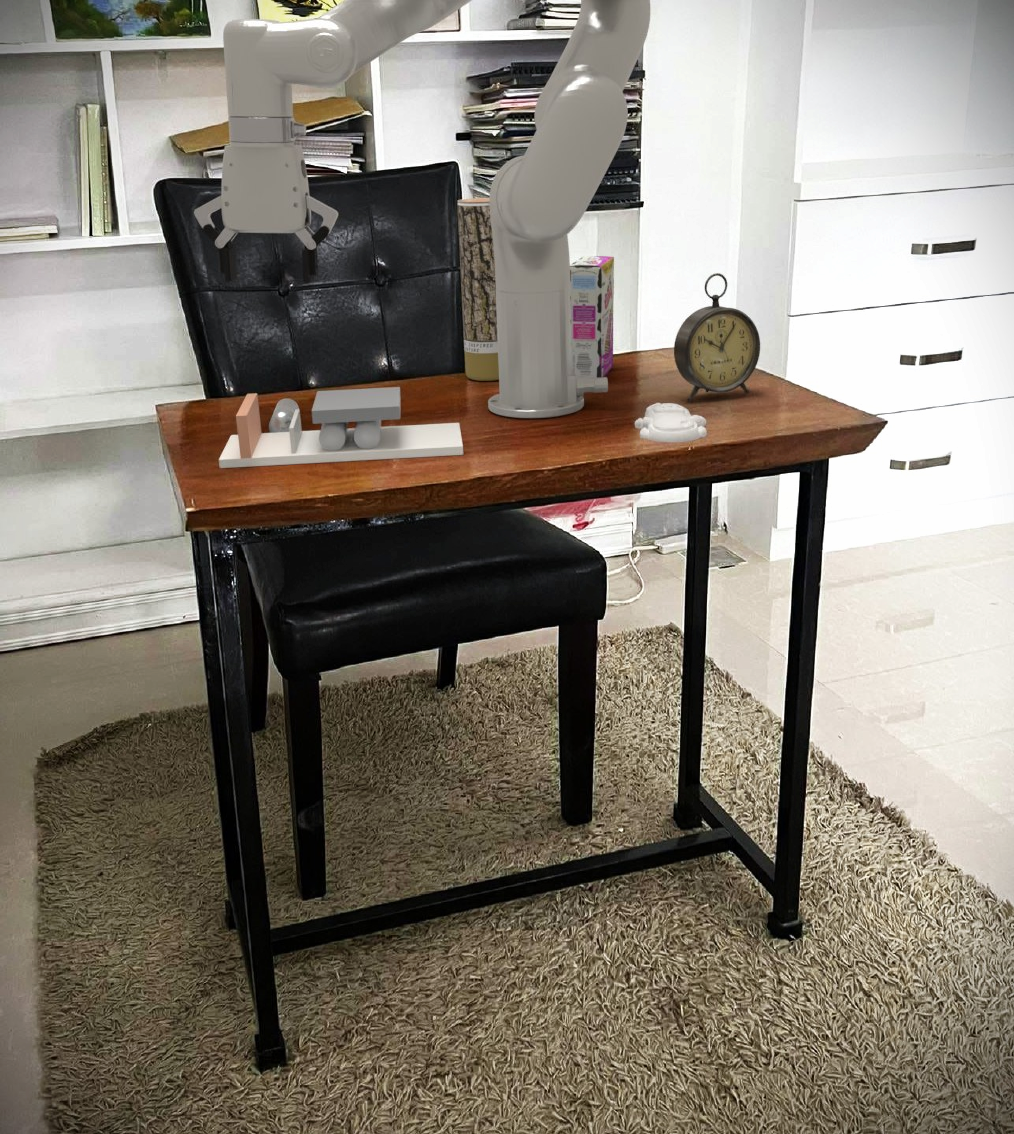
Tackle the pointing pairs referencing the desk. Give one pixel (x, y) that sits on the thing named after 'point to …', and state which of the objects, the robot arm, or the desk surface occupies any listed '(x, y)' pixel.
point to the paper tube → (478, 289)
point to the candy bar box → (592, 315)
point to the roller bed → (350, 449)
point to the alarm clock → (717, 347)
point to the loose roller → (282, 416)
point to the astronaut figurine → (670, 424)
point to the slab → (356, 405)
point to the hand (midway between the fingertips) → (270, 281)
